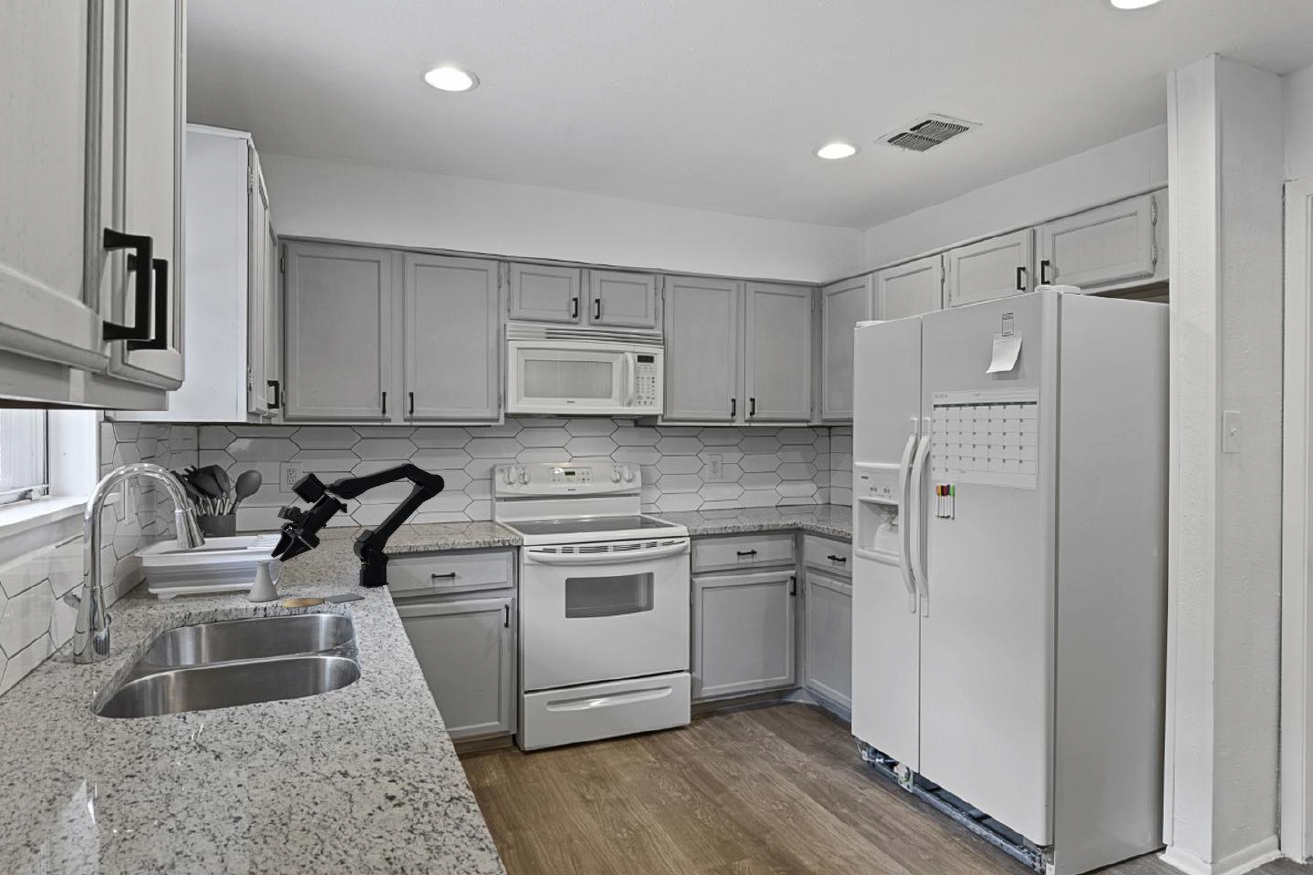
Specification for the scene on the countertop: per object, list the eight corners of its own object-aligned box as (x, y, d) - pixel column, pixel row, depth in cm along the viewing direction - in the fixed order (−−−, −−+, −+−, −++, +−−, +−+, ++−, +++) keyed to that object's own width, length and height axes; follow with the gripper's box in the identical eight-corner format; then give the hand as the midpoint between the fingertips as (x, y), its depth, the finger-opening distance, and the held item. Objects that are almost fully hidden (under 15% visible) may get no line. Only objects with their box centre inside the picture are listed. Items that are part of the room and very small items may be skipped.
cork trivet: (315, 597, 209) (315, 595, 209) (329, 603, 202) (329, 601, 202) (275, 602, 203) (275, 601, 203) (288, 609, 195) (288, 607, 195)
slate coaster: (352, 594, 212) (352, 593, 212) (364, 599, 207) (364, 597, 207) (322, 598, 207) (322, 597, 207) (333, 603, 201) (333, 602, 201)
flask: (284, 598, 208) (283, 560, 208) (258, 603, 202) (257, 565, 202) (268, 595, 212) (268, 558, 212) (242, 600, 206) (241, 562, 206)
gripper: (288, 493, 219) (245, 535, 213) (307, 497, 205) (260, 543, 198) (318, 519, 224) (276, 561, 218) (338, 525, 210) (294, 571, 203)
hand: (276, 558), depth 209 cm, fingers open, 9 cm apart
